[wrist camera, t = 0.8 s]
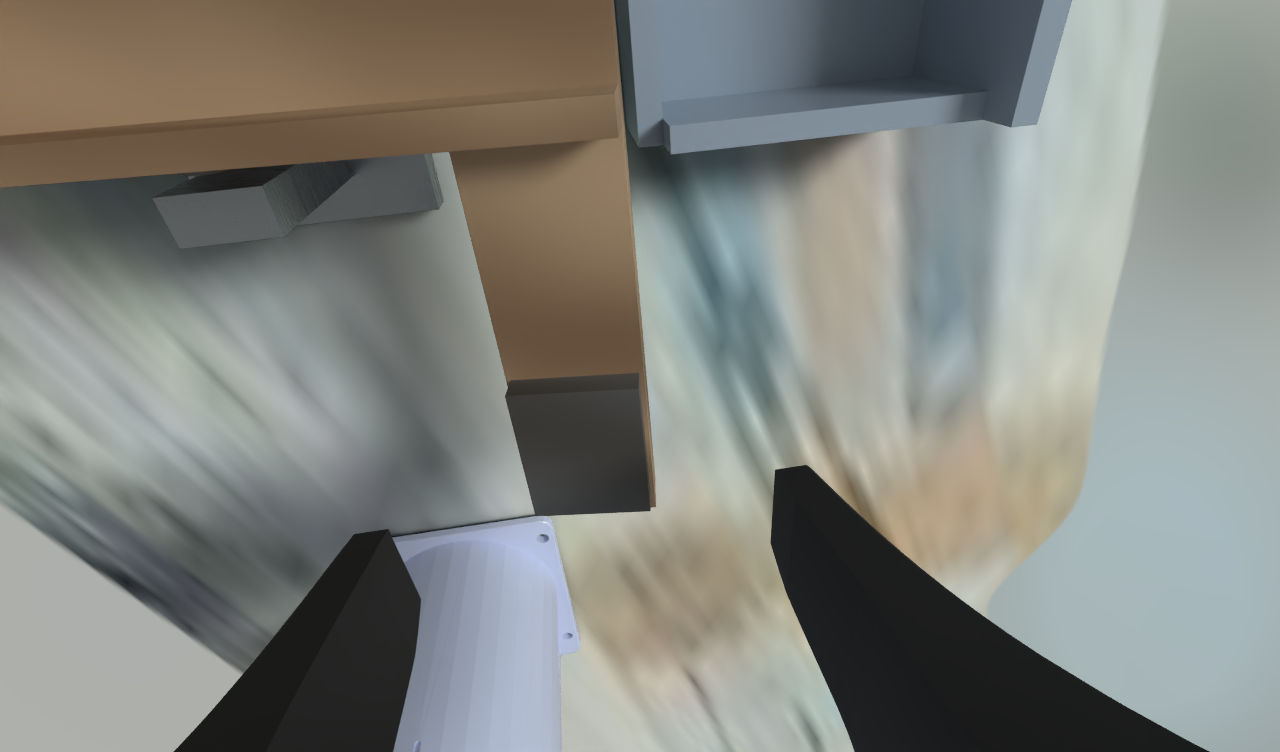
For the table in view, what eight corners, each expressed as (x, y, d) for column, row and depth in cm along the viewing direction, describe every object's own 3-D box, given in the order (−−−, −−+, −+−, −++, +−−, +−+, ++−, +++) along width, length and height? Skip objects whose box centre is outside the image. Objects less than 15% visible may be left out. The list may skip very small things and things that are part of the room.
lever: (655, 466, 16) (656, 558, 13) (105, 493, 17) (6, 584, 14) (573, -490, 7) (532, -766, 5) (-572, -331, 8) (-1156, -485, 5)
